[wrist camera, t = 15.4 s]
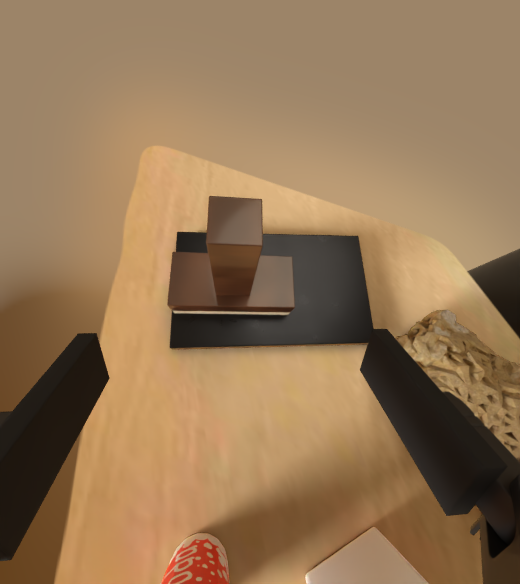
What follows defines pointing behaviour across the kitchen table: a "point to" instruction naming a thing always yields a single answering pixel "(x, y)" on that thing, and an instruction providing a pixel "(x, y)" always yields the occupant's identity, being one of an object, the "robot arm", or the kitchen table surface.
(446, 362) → the sponge
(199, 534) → the beverage cup
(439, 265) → the kitchen table surface
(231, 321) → the panel
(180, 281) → the brown block
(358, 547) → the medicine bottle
